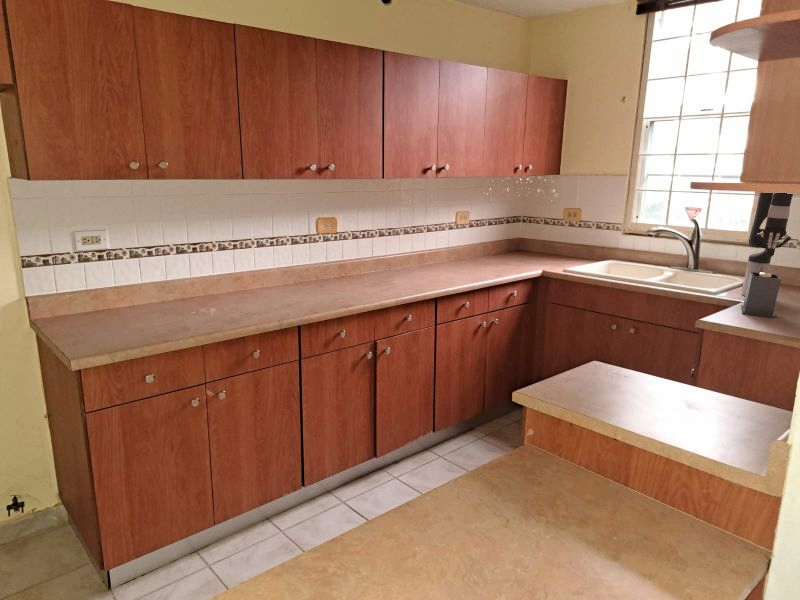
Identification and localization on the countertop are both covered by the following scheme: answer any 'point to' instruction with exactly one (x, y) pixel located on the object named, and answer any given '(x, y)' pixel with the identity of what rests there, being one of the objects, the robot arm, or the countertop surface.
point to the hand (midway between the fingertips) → (769, 256)
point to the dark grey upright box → (761, 295)
